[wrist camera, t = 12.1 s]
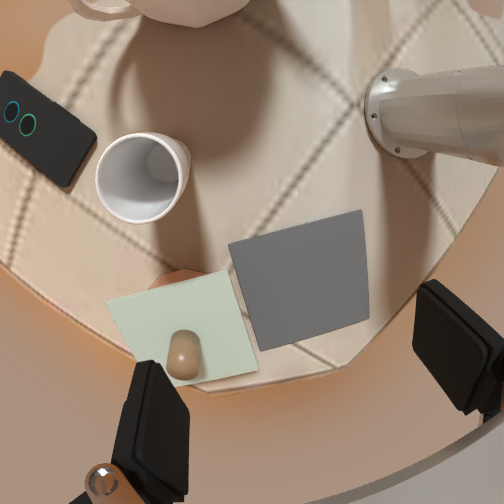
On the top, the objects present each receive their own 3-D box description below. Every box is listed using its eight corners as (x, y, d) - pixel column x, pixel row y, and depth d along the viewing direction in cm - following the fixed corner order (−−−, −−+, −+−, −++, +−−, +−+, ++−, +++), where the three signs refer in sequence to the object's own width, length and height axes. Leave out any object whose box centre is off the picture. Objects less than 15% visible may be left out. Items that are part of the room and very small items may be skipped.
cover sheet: (227, 269, 33) (230, 296, 27) (258, 365, 39) (264, 397, 33) (107, 300, 33) (91, 328, 27) (156, 386, 38) (151, 416, 33)
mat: (360, 209, 38) (362, 210, 38) (368, 316, 45) (369, 318, 45) (228, 244, 38) (228, 245, 38) (259, 349, 45) (260, 351, 45)
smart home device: (4, 67, 23) (95, 134, 30) (11, 68, 25) (100, 134, 31) (-21, 119, 25) (63, 191, 32) (-15, 118, 27) (69, 188, 33)
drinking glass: (199, 186, 35) (187, 222, 21) (144, 191, 34) (100, 230, 21) (196, 129, 32) (180, 126, 19) (139, 135, 32) (89, 139, 18)
